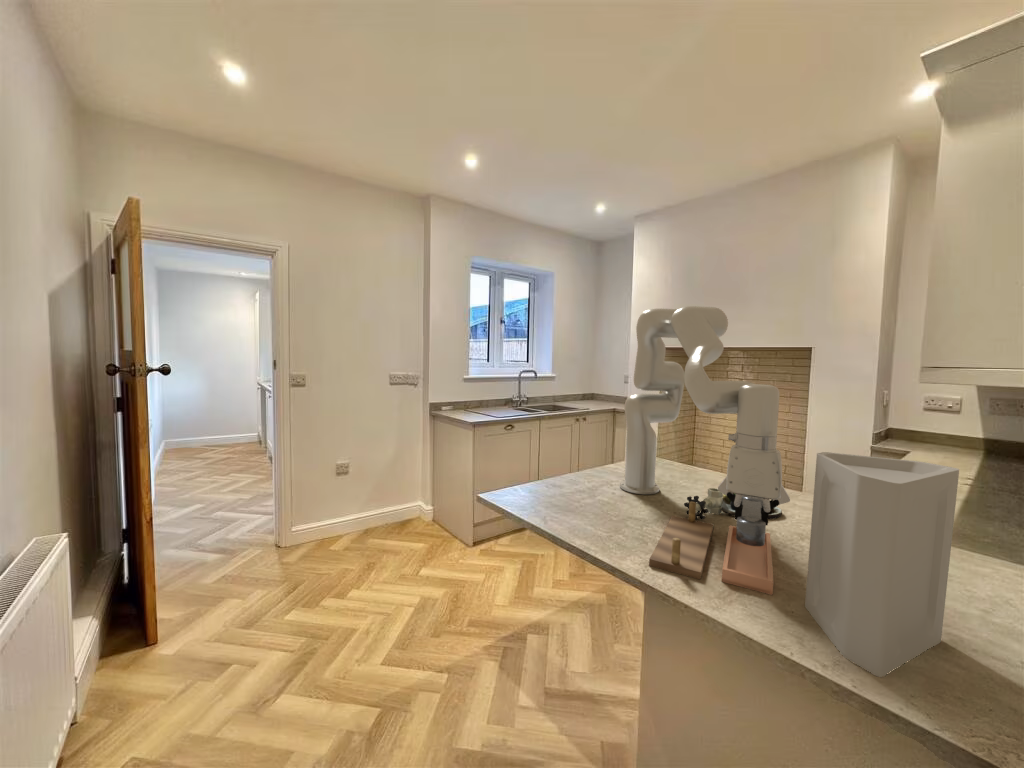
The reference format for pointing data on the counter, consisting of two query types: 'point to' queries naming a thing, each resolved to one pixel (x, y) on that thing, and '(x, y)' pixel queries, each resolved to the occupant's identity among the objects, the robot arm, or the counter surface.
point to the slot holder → (748, 564)
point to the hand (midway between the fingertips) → (750, 524)
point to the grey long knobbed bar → (751, 522)
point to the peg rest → (683, 545)
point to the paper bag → (880, 556)
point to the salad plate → (730, 508)
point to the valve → (707, 503)
